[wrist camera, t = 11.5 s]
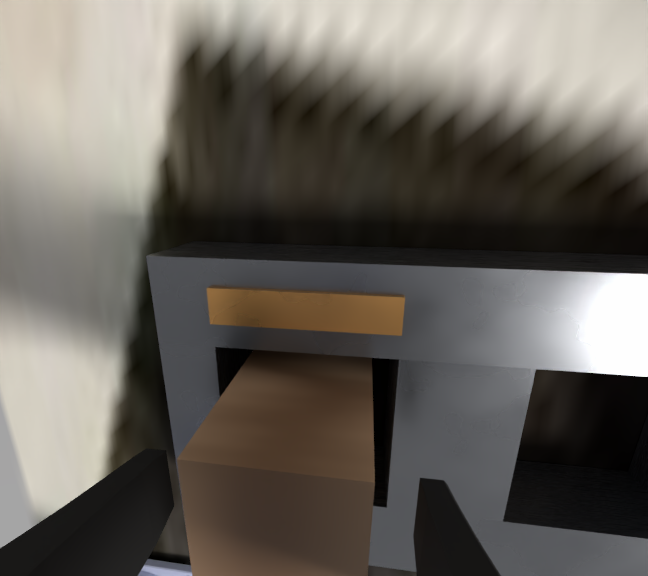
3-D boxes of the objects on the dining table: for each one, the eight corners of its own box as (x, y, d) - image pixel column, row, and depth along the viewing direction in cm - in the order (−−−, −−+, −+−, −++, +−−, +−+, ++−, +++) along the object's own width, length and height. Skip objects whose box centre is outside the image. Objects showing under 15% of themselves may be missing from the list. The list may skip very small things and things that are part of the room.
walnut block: (269, 419, 15) (195, 595, 9) (266, 331, 14) (177, 459, 8) (365, 429, 15) (363, 622, 8) (371, 338, 14) (374, 482, 7)
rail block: (217, 479, 17) (185, 544, 14) (193, 241, 13) (142, 257, 10) (659, 531, 14) (737, 623, 11) (769, 259, 11) (921, 286, 8)
